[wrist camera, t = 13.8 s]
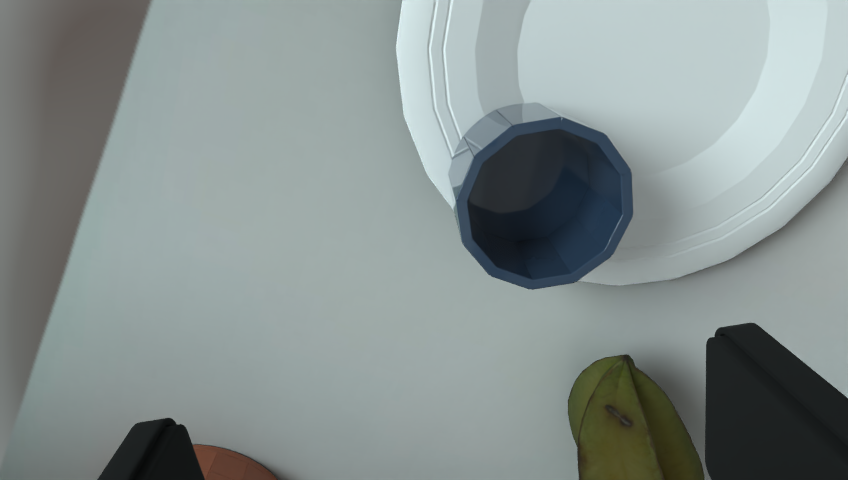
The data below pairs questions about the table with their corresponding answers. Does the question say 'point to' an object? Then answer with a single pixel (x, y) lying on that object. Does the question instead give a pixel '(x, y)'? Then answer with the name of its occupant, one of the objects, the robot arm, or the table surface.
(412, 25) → the plate
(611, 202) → the small bowl
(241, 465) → the big bowl
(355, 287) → the table surface
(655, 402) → the fruit
